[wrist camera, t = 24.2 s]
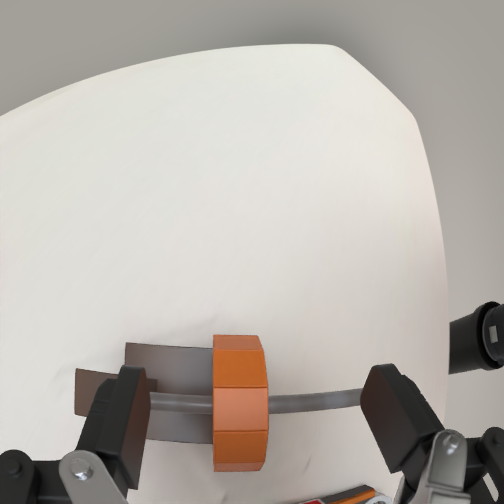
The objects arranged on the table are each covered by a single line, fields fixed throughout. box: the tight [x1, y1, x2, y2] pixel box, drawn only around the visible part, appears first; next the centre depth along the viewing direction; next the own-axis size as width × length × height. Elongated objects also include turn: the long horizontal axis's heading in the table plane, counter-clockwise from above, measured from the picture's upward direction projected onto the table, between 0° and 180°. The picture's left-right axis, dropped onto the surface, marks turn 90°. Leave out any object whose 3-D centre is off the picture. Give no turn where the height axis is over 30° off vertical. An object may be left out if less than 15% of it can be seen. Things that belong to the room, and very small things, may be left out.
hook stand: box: [75, 342, 363, 444], centre depth 22 cm, size 20×10×14 cm, turn 90°
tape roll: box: [213, 335, 269, 472], centre depth 19 cm, size 3×10×10 cm, turn 1°
